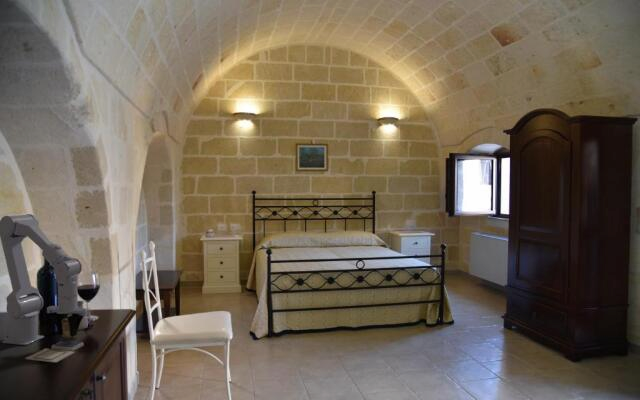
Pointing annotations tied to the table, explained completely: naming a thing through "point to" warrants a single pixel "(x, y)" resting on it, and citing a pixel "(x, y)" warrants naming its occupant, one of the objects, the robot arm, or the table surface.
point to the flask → (84, 321)
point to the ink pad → (67, 345)
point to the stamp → (66, 331)
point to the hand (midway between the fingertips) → (67, 335)
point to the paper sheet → (50, 355)
